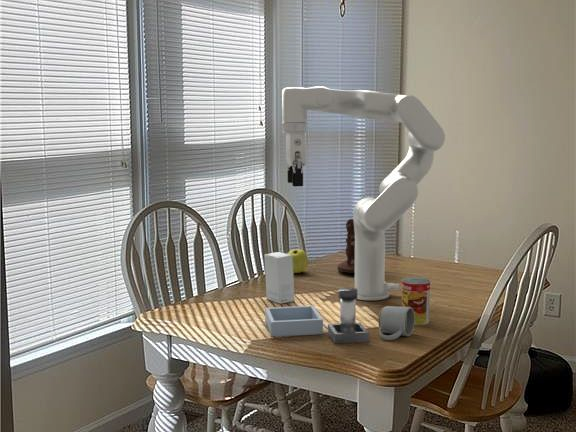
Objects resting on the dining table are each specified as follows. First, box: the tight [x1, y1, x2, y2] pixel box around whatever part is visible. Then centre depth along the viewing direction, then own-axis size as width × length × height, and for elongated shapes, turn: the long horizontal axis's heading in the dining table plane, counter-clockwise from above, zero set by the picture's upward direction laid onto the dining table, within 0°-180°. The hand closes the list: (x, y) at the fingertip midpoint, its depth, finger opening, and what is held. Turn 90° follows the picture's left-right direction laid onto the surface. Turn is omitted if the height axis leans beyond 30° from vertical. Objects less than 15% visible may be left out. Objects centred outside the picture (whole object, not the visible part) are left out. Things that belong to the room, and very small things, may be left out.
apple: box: [286, 248, 309, 274], centre depth 273 cm, size 8×8×10 cm
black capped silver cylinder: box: [338, 286, 358, 333], centre depth 199 cm, size 5×5×13 cm
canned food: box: [401, 276, 431, 326], centre depth 212 cm, size 8×8×12 cm
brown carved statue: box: [337, 218, 355, 274], centre depth 272 cm, size 15×15×20 cm
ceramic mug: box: [377, 305, 415, 341], centre depth 201 cm, size 11×8×8 cm
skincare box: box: [263, 251, 296, 304], centre depth 236 cm, size 8×6×15 cm
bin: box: [264, 305, 324, 337], centre depth 208 cm, size 14×14×4 cm
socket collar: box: [327, 322, 370, 345], centre depth 199 cm, size 9×9×2 cm
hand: (295, 184), depth 231 cm, fingers open, 9 cm apart
